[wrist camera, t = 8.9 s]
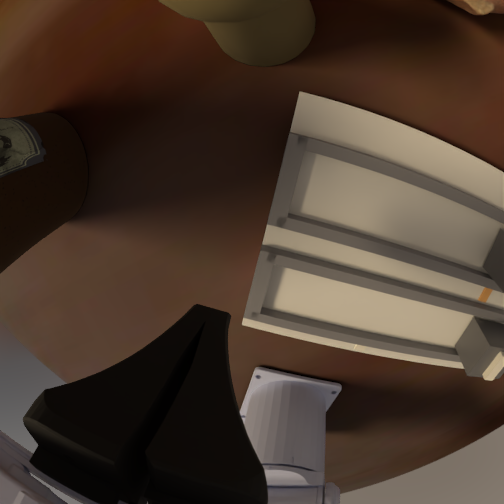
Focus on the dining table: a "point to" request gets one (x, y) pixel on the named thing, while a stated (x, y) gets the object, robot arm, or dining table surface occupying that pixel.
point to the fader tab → (496, 260)
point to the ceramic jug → (480, 6)
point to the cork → (254, 27)
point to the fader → (482, 349)
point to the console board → (377, 238)
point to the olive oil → (37, 180)
